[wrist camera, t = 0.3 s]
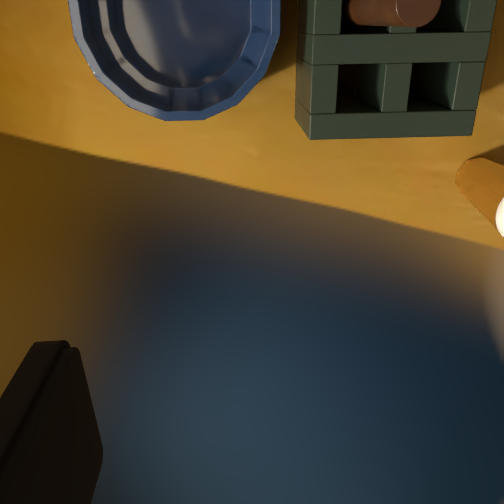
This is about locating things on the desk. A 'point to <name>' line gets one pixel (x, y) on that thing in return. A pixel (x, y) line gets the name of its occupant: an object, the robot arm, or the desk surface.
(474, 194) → the beer glass
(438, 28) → the holder
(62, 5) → the desk surface
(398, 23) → the stick
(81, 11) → the bowl
